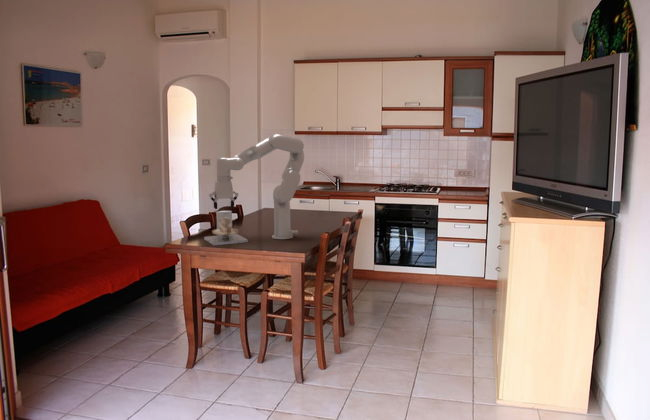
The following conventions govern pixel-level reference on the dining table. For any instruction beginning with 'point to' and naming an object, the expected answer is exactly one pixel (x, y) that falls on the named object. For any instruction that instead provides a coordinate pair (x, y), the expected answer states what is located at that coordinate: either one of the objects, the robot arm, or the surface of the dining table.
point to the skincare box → (223, 214)
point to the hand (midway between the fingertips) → (224, 208)
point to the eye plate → (225, 239)
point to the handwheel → (225, 228)
